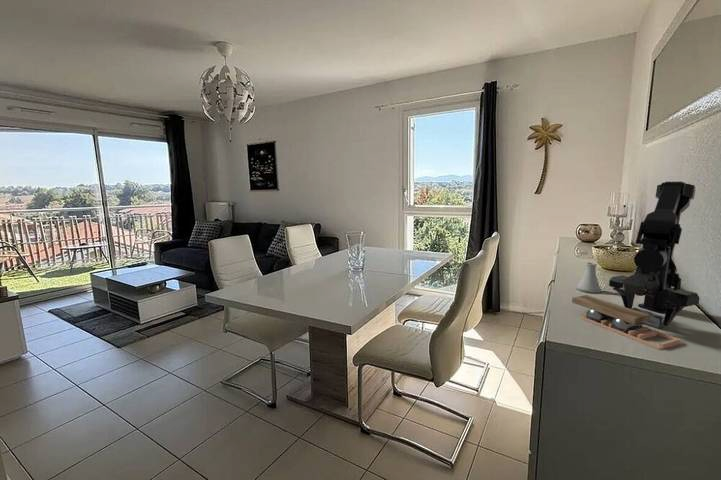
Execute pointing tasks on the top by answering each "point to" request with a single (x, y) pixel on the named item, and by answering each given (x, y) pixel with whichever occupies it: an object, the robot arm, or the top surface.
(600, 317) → the rear roller
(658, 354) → the top surface
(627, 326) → the middle roller
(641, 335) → the roller track
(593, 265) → the flask
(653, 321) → the roller
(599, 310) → the walnut board
